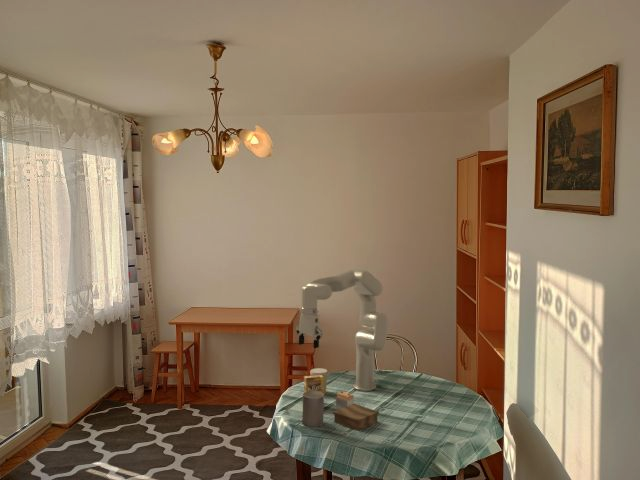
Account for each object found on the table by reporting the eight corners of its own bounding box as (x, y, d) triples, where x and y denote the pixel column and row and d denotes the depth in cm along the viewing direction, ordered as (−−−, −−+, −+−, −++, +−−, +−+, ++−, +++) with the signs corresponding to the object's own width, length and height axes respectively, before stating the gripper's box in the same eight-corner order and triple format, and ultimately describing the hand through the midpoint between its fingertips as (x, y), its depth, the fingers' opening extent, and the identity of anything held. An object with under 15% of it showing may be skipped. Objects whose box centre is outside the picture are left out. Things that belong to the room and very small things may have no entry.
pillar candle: (299, 421, 268) (299, 389, 267) (318, 418, 272) (319, 386, 271) (307, 429, 259) (307, 396, 258) (327, 425, 263) (327, 393, 262)
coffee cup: (330, 392, 310) (331, 369, 309) (321, 396, 302) (321, 374, 301) (316, 388, 314) (316, 367, 314) (306, 393, 307) (306, 371, 306)
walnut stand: (353, 413, 278) (353, 403, 278) (378, 422, 268) (378, 411, 268) (332, 422, 267) (333, 411, 267) (358, 431, 257) (358, 420, 257)
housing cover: (342, 395, 290) (342, 390, 290) (353, 398, 286) (353, 393, 285) (336, 397, 287) (337, 392, 287) (347, 400, 283) (347, 395, 282)
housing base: (342, 404, 291) (342, 395, 291) (353, 408, 286) (353, 398, 286) (336, 407, 287) (336, 397, 287) (346, 410, 283) (347, 400, 282)
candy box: (305, 408, 284) (306, 378, 283) (303, 405, 288) (303, 375, 287) (322, 407, 287) (323, 376, 286) (320, 404, 291) (320, 374, 290)
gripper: (327, 312, 278) (327, 347, 279) (301, 307, 290) (301, 341, 291) (317, 314, 273) (316, 350, 274) (291, 309, 284) (290, 344, 285)
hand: (308, 345), depth 282 cm, fingers open, 9 cm apart
